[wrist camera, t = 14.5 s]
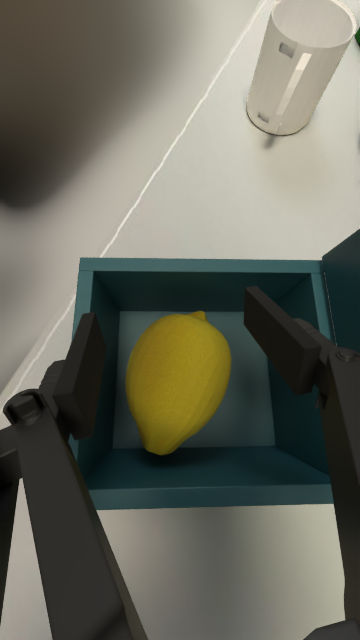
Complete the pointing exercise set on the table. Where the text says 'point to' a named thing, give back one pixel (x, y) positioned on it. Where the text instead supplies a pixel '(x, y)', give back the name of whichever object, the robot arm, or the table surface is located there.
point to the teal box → (238, 402)
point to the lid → (345, 290)
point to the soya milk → (358, 36)
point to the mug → (297, 62)
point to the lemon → (176, 379)
